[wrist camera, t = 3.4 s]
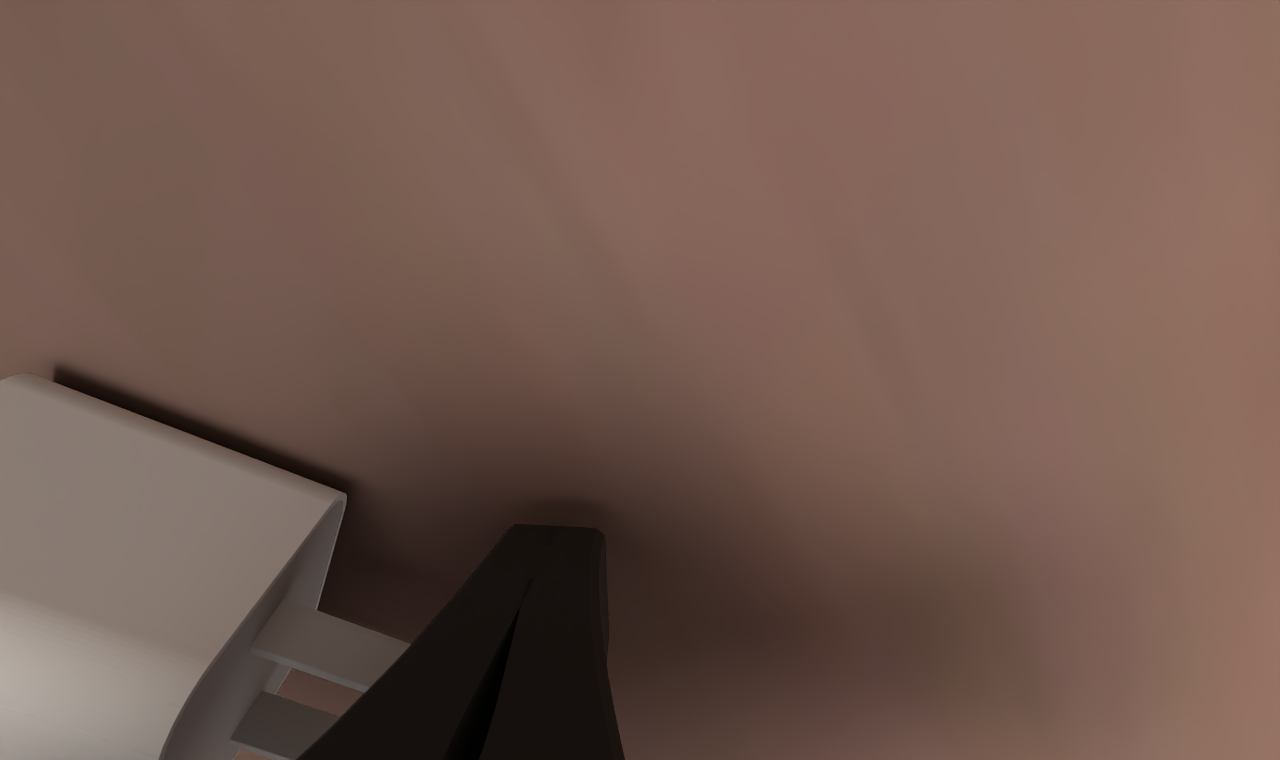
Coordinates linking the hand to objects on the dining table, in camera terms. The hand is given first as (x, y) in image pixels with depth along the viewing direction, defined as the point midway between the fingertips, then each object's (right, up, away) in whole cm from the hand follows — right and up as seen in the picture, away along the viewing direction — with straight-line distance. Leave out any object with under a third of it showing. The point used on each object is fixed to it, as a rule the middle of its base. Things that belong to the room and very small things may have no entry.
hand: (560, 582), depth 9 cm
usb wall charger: (-5, 0, +2) cm, 5 cm away
